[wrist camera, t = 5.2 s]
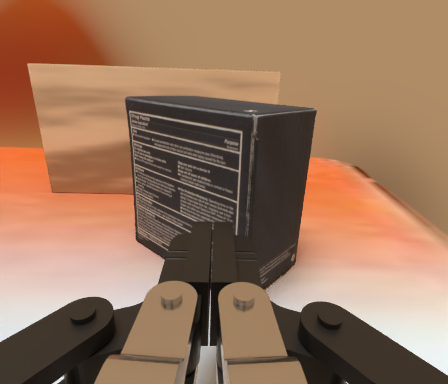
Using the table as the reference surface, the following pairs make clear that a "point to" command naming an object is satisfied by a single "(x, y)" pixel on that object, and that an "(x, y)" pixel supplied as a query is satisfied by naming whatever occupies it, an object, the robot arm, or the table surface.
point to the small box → (220, 171)
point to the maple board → (117, 114)
